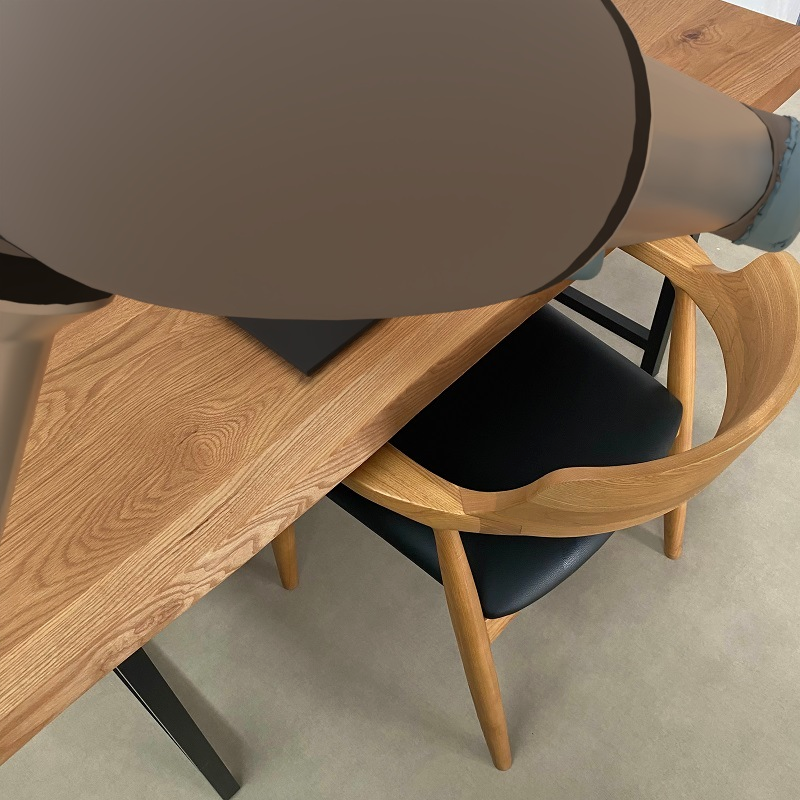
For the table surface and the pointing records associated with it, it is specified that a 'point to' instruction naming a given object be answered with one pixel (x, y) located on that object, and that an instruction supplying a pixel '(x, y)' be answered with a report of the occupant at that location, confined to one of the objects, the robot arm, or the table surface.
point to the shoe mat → (305, 338)
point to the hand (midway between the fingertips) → (152, 190)
